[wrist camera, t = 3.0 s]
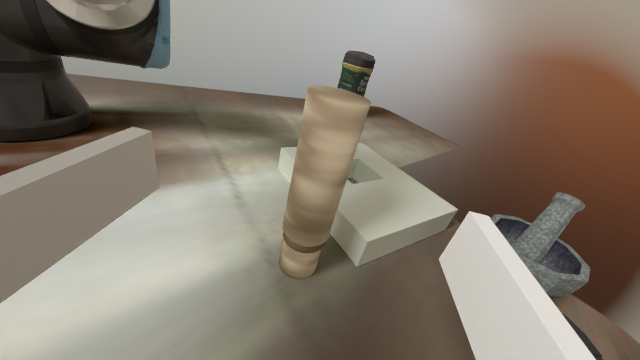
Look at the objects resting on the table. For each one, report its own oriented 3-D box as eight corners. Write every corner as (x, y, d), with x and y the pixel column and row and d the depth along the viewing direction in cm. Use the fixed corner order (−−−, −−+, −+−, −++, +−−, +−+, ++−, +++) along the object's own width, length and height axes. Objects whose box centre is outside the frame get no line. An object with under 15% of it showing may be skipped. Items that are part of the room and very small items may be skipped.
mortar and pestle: (534, 339, 25) (636, 259, 19) (448, 271, 31) (505, 192, 25) (552, 287, 32) (630, 216, 26) (479, 239, 38) (530, 172, 32)
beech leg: (269, 253, 27) (296, 83, 18) (306, 242, 30) (345, 88, 21) (287, 288, 24) (331, 104, 15) (326, 272, 27) (383, 107, 17)
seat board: (277, 168, 43) (281, 147, 41) (356, 160, 53) (362, 143, 51) (356, 266, 28) (367, 241, 26) (445, 229, 38) (458, 209, 36)
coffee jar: (345, 120, 76) (363, 53, 66) (326, 111, 80) (341, 47, 70) (362, 117, 83) (381, 56, 73) (344, 109, 87) (360, 50, 77)
